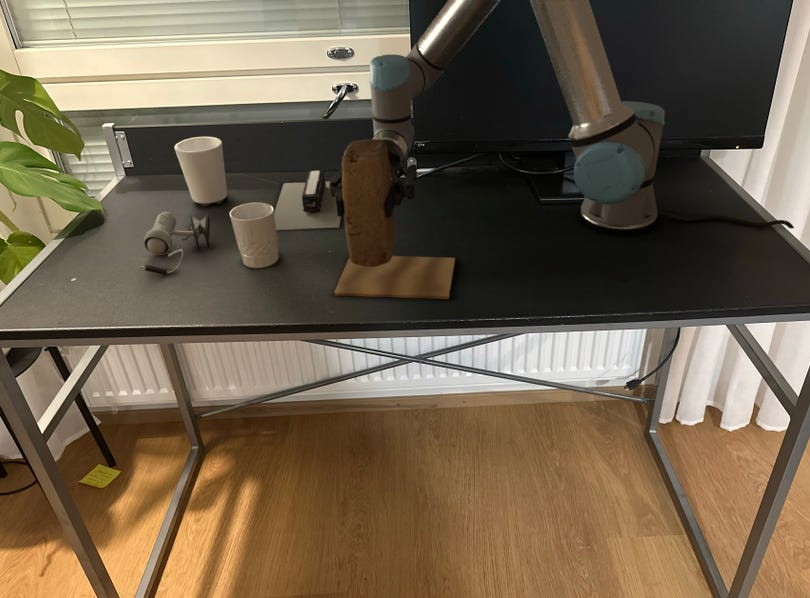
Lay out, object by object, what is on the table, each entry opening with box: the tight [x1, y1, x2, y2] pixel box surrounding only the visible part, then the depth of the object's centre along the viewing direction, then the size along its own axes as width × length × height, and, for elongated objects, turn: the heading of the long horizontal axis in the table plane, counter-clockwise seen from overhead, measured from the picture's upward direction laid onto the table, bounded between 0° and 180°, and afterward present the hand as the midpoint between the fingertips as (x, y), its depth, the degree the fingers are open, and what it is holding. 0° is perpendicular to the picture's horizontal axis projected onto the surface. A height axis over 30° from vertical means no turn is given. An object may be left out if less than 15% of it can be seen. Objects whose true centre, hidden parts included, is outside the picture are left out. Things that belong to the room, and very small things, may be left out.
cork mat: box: [334, 255, 456, 300], centre depth 126 cm, size 20×14×1 cm
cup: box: [174, 136, 228, 207], centre depth 153 cm, size 10×10×13 cm
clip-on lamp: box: [139, 211, 211, 276], centre depth 134 cm, size 12×6×18 cm
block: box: [341, 138, 395, 267], centre depth 118 cm, size 11×8×20 cm
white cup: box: [229, 201, 280, 269], centre depth 130 cm, size 8×8×10 cm
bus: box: [274, 169, 342, 231], centre depth 152 cm, size 14×25×4 cm, turn 3°
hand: (363, 209), depth 114 cm, fingers closed on block, 7 cm apart
